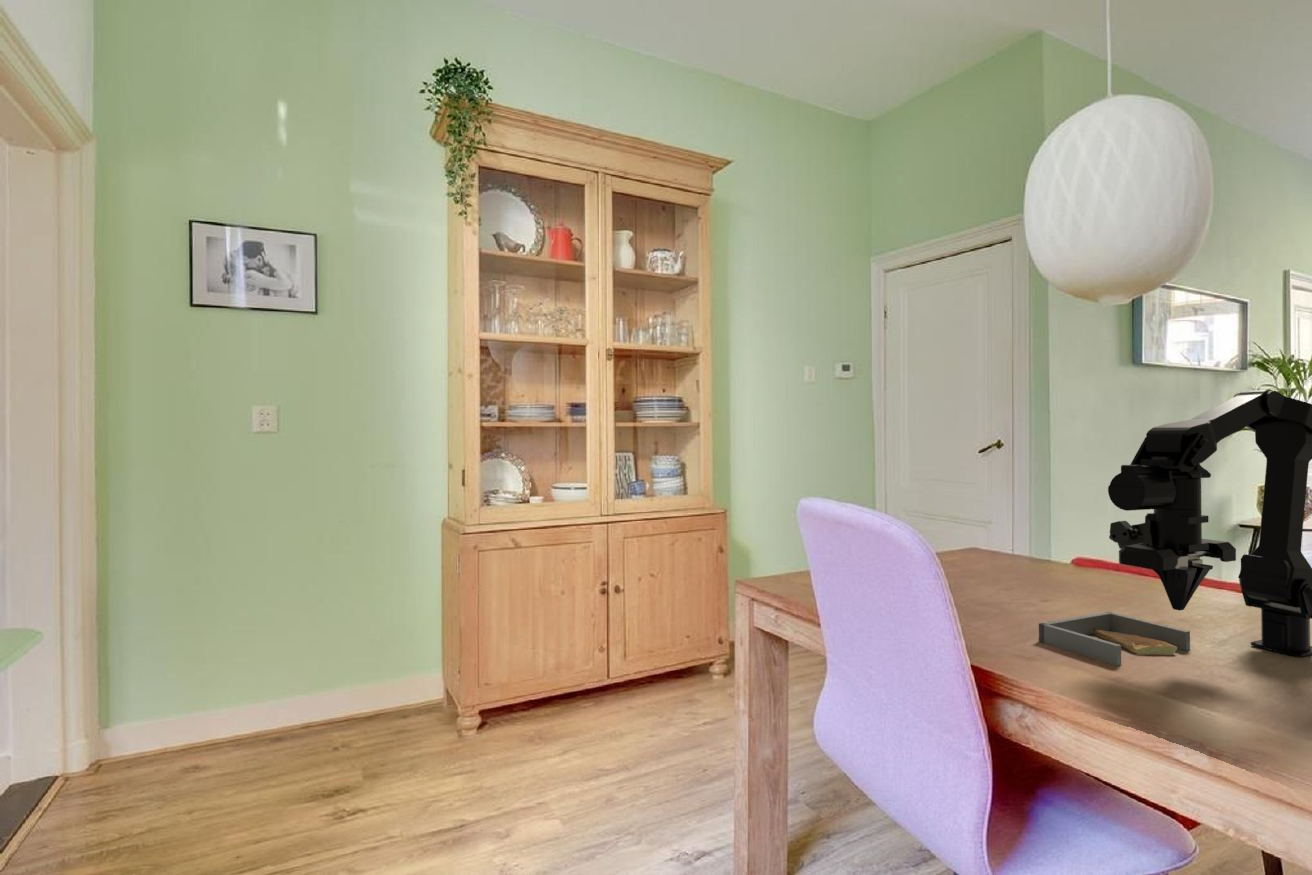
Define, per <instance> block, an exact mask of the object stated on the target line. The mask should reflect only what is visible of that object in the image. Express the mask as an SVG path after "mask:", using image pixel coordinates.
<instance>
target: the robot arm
mask: <svg viewBox="0 0 1312 875" xmlns="http://www.w3.org/2000/svg"><path fill="white" fill-rule="evenodd" d="M1244 428H1248V429H1250V431H1252V432H1254V435H1255V436H1254V438H1255V439H1254V440H1255V445H1256V446H1257V447H1258V448H1259V450H1260V451H1261V453H1262V454H1263V456H1264V457H1265V458H1266V464H1265V465H1266V466H1265V476H1264V487H1263V499H1262V506H1261V507H1262V508H1261V518H1260V519H1261V520H1260V521H1261V522H1260V528H1259V529H1260V531H1259V538H1258V539H1259V540H1258V546H1257V547H1256V548H1255V549H1254V550H1253V551H1252V552H1251V553H1250V554H1246V553H1245V554H1243V555H1242V556H1241V558H1240V571H1239V574H1238V579H1239V580H1238V581H1239V586H1240V590H1241V593H1242V596H1243V600H1244V603H1245V606H1246V607H1250V608H1251V607H1253V608H1258V609H1260V611H1261V612H1260V616H1261V617H1260V618H1261V620H1260V621H1261V623H1260V624H1261V625H1260V627H1261V629H1260V630H1261V639H1259V640H1253V641H1250V645H1251V646H1254V647H1256V648H1257V647H1258V648H1261V649H1265V650H1270V651H1274V652H1278V653H1282V654H1287V655H1290V656H1296V657H1306V656H1309V655H1312V645H1311V619H1312V566H1311V564H1310V563H1309V561H1307V560H1308V559H1307V558H1306V557H1305V556H1304V554H1303V553H1302V540H1303V530H1304V529H1303V528H1304V520H1305V519H1304V518H1305V509H1306V508H1305V507H1306V498H1307V497H1306V496H1307V485H1308V474H1309V473H1308V472H1309V463H1310V462H1311V461H1312V403H1310V402H1306V401H1303V400H1299V399H1296V398H1293V397H1289V396H1285V395H1284V394H1282V393H1281V392H1279V391H1277V390H1273V389H1269V388H1268V389H1256V390H1255V389H1254V390H1253V389H1251V390H1242V391H1240V392H1237V393H1235V394H1234V395H1233V397H1231V398H1229V399H1228V400H1226V401H1224V402H1222V403H1220V404H1218V405H1216V406H1214V407H1212V408H1210V409H1208V410H1206V411H1205V412H1203V413H1200V414H1198V415H1196V416H1195V417H1193V418H1191V419H1188V420H1182V421H1176V422H1169V423H1165V424H1161V425H1158V426H1153V427H1152V428H1151V429H1149V430H1148V431H1147V432H1146V434H1145V435H1146V436H1145V437H1144V439H1143V441H1142V443H1141V445H1140V446H1139V448H1138V450H1137V452H1136V453H1135V455H1134V457H1133V458H1132V461H1131V463H1130V464H1121V465H1120V473H1118V474H1116V475H1115V476H1114V477H1113V478H1112V479H1111V481H1110V483H1109V485H1108V488H1107V492H1108V497H1109V499H1110V500H1111V503H1112V504H1113V505H1114V506H1115V507H1117V508H1118V509H1120V510H1123V511H1127V512H1128V511H1129V512H1130V511H1144V510H1147V511H1148V510H1153V512H1148V513H1146V515H1145V516H1144V522H1142V523H1138V524H1132V525H1131V524H1130V523H1129V522H1128V521H1126V520H1118V521H1114V522H1110V525H1109V526H1110V529H1109V536H1108V537H1109V540H1111V541H1113V542H1114V543H1117V546H1118V548H1119V550H1118V564H1120V565H1124V566H1125V565H1126V566H1130V567H1135V568H1142V569H1147V570H1148V569H1149V570H1152V571H1154V572H1155V573H1156V574H1157V575H1158V577H1159V579H1160V581H1161V583H1162V586H1163V587H1164V591H1165V593H1166V595H1167V597H1168V600H1169V603H1170V606H1171V608H1172V609H1173V610H1176V611H1184V610H1185V608H1186V607H1187V605H1188V604H1189V602H1190V600H1191V599H1192V597H1193V595H1194V594H1195V592H1196V590H1197V589H1198V588H1199V586H1200V585H1201V583H1202V582H1203V580H1204V579H1205V577H1206V576H1207V575H1208V574H1209V572H1210V571H1211V570H1213V569H1214V566H1213V565H1210V564H1205V563H1203V559H1201V557H1205V558H1206V557H1208V558H1214V559H1220V560H1219V561H1221V562H1222V563H1229V562H1236V560H1237V548H1236V547H1235V546H1233V544H1232V543H1230V542H1229V541H1224V540H1216V539H1208V538H1203V535H1202V534H1203V531H1202V528H1203V527H1202V525H1203V524H1204V523H1209V515H1203V514H1202V479H1209V478H1211V477H1212V474H1211V472H1209V471H1208V469H1206V468H1204V467H1203V466H1201V464H1202V463H1204V462H1205V461H1207V460H1208V459H1209V458H1210V457H1211V456H1212V455H1214V454H1215V453H1216V452H1217V450H1218V444H1219V443H1220V441H1222V440H1224V439H1226V438H1227V437H1230V436H1232V435H1233V434H1235V433H1237V432H1239V431H1241V430H1242V429H1243V430H1244Z"/></svg>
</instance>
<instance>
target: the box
mask: <svg viewBox="0 0 1312 875" xmlns="http://www.w3.org/2000/svg"><path fill="white" fill-rule="evenodd" d="M1093 628H1095V629H1100V630H1106V631H1112V632H1119V633H1126V634H1132V635H1138V636H1143V637H1148V638H1153V639H1158V640H1162V641H1165V642H1167V643H1169V644H1171V645H1174V646H1176V647H1177V649H1180V650H1183V651H1190V650H1191V631H1190V630H1186V629H1181V628H1178V627H1174V626H1169V625H1164V624H1161V623H1157V622H1152V621H1148V620H1145V619H1140V618H1136V617H1132V616H1129V615H1124V614H1119V613H1115V612H1111V611H1106V612H1105V611H1104V612H1100V613H1099V612H1098V613H1093V614H1087V615H1081V616H1074V617H1068V618H1064V619H1059V620H1058V619H1056V620H1052V621H1051V620H1050V621H1046V622H1041V623H1040V622H1039V623H1038V641H1039V642H1041V643H1044V644H1047V645H1050V646H1053V647H1057V648H1061V649H1063V650H1067V651H1070V652H1072V653H1075V654H1079V655H1081V656H1085V657H1088V658H1092V659H1094V660H1098V661H1101V662H1105V663H1107V664H1110V665H1114V666H1121V665H1122V646H1121V645H1119V644H1116V643H1113V642H1111V641H1109V640H1106V639H1100V638H1097V637H1093V636H1090V635H1093V634H1096V633H1095V631H1094V629H1093Z"/></svg>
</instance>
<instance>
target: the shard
mask: <svg viewBox="0 0 1312 875" xmlns="http://www.w3.org/2000/svg"><path fill="white" fill-rule="evenodd" d="M1093 629H1094V631H1095V633H1094V634H1095V636H1098V637H1100V638H1102V639H1103V640H1105V641H1108V642H1112V643H1115V644H1119V645H1121V648H1124V649H1126V650H1128V651H1130V652H1131V653H1133V654H1135V655H1137V656H1139V655H1141V656H1143V655H1161V656H1162V655H1166V656H1167V655H1168V656H1169V655H1170V656H1172V655H1174V654H1175V653H1176V652H1177V650H1178V648H1177V647H1176V646H1174V645H1171V644H1169V643H1167V642H1165V641H1162V640H1158V639H1153V638H1148V637H1143V636H1138V635H1132V634H1126V633H1119V632H1115V631H1112V630H1110V631H1106V630H1100V629H1095V628H1093Z"/></svg>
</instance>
